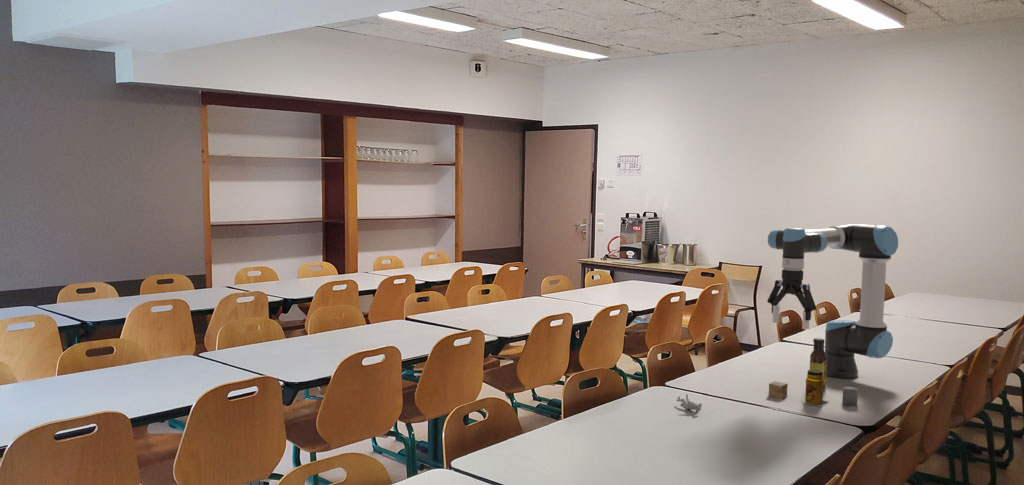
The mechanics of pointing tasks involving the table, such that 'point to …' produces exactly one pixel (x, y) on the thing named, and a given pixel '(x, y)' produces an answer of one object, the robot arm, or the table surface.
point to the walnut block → (778, 389)
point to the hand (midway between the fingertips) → (790, 325)
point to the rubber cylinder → (850, 396)
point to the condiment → (814, 388)
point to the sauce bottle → (819, 358)
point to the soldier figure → (689, 404)
